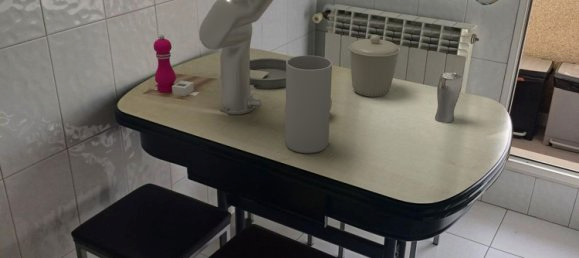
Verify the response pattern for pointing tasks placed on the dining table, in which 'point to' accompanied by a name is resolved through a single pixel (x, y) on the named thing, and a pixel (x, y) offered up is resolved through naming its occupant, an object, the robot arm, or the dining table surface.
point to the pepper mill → (164, 65)
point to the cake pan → (275, 69)
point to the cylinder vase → (308, 103)
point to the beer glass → (447, 96)
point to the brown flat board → (198, 81)
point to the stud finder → (183, 88)
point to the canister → (373, 65)
